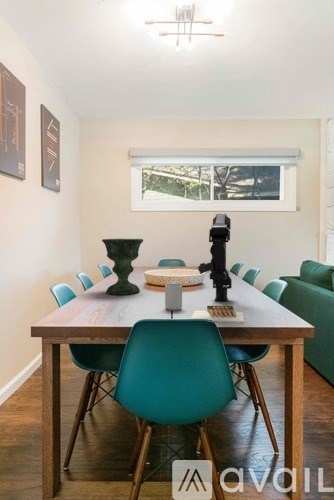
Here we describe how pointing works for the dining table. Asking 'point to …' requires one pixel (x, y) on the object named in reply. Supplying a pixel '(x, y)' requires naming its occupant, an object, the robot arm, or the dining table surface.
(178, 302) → the can
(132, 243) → the goblet
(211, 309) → the ammunition clip
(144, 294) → the dining table surface
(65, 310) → the dining table surface
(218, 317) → the mat
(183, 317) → the dining table surface
